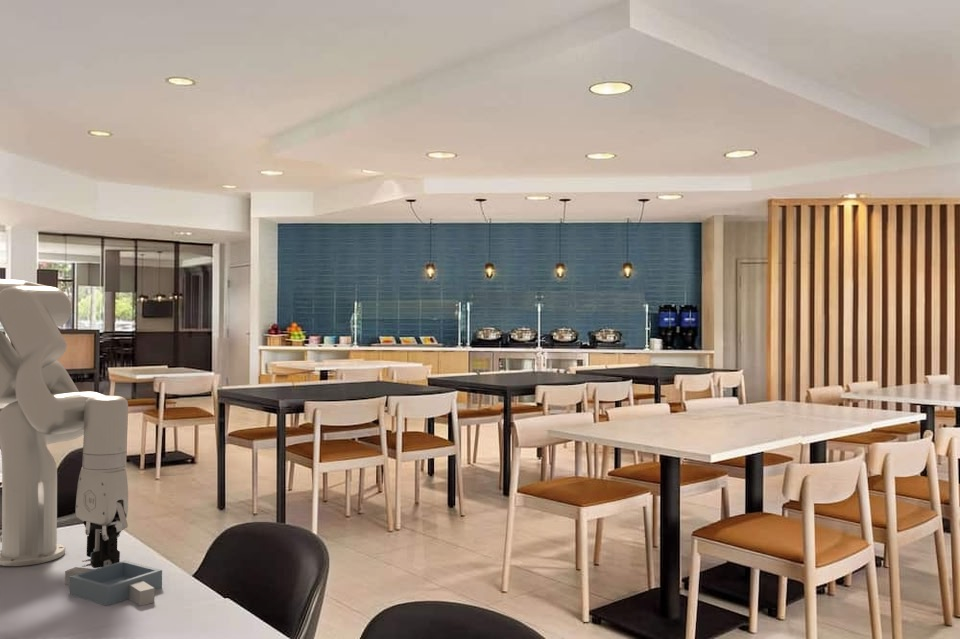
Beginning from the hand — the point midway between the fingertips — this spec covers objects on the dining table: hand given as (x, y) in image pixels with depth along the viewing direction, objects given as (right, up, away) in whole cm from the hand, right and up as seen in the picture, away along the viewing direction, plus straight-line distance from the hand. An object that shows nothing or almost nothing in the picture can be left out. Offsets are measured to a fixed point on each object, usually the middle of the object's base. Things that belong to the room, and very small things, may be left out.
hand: (101, 556), depth 149 cm
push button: (0, -2, 0) cm, 2 cm away
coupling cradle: (+8, -3, -12) cm, 14 cm away
